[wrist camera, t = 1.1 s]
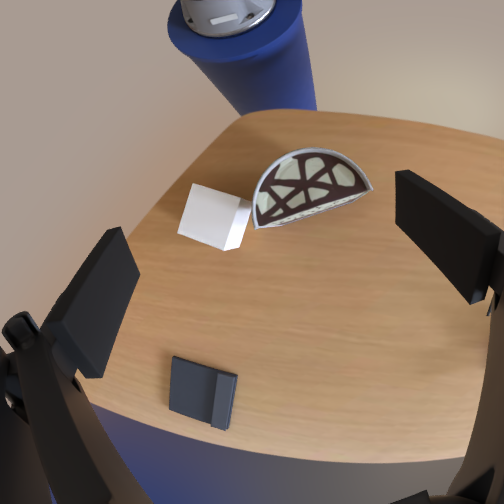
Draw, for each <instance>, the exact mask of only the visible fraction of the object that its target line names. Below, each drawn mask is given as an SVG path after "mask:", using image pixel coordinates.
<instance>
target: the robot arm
mask: <svg viewBox="0 0 504 504" xmlns="http://www.w3.org/2000/svg"><path fill="white" fill-rule="evenodd" d="M180 1H181V6H182V11H183V16H184V19H185V22H186V23H187V25H188V26H189V27H190V28H191V30H192V31H193V32H195V33H196V34H197V35H199V36H202V37H204V38H208V39H228V38H234V37H238V36H241V35H244V34H246V33H249V32H251V31H253V30H254V29H256V28H258V27H259V26H261V25H262V24H263V23H265V22H266V21H267V20H268V19H269V18H270V16H271V15H272V14H273V12H274V10H275V8H276V5H277V0H180ZM395 185H396V218H395V224H396V225H397V226H398V227H399V228H400V229H401V230H402V231H403V232H404V233H405V234H406V235H407V236H408V237H409V238H410V239H411V240H412V241H413V242H414V243H415V244H416V245H417V246H418V247H419V248H420V249H421V250H422V251H423V252H424V253H425V254H426V255H427V256H428V258H429V259H430V260H431V261H432V262H433V263H434V264H435V265H436V266H437V267H438V268H439V270H440V271H441V272H442V273H443V274H444V275H445V276H446V277H447V278H448V280H449V281H450V282H451V283H452V284H453V285H454V287H455V288H456V289H457V290H458V291H459V292H460V294H461V295H462V296H463V297H464V298H465V300H466V301H467V302H468V303H469V304H470V305H471V304H474V303H476V302H479V301H482V300H484V299H485V296H486V293H487V290H488V286H490V287H491V288H492V289H493V290H494V294H493V297H492V301H491V304H490V307H489V309H488V312H487V315H486V316H489V315H490V312H491V323H490V336H489V346H488V354H487V362H486V369H485V375H484V381H483V387H482V392H481V397H480V402H479V407H478V411H477V416H476V420H475V424H474V428H473V431H472V435H471V439H470V442H469V446H468V449H467V452H466V455H465V459H464V461H463V464H462V466H461V468H460V470H459V472H458V473H457V475H456V476H455V478H454V480H453V482H452V483H451V485H450V487H449V490H448V492H447V494H446V495H435V496H429V495H428V492H427V490H424V491H422V492H419V493H417V494H415V495H412V496H410V497H407V498H404V499H401V500H399V501H396V502H393V503H390V504H504V231H503V230H501V229H500V228H499V227H497V226H496V225H495V224H493V223H492V222H491V223H490V221H489V220H488V219H487V218H484V216H483V215H481V214H480V213H478V212H477V211H475V210H473V209H470V208H468V207H467V206H465V205H464V204H462V203H461V202H459V201H458V200H456V199H455V198H453V197H452V196H450V195H449V194H447V193H446V192H444V191H443V190H441V189H440V188H438V187H436V186H435V185H433V184H432V183H430V182H428V181H427V180H425V179H424V178H422V177H420V176H419V175H417V174H415V173H413V172H412V171H410V170H402V171H395ZM139 277H140V272H139V270H138V268H137V265H136V263H135V261H134V258H133V256H132V254H131V251H130V249H129V246H128V244H127V241H126V239H125V236H124V234H123V232H122V229H121V227H116V228H112V229H109V230H107V231H106V232H105V233H104V235H103V236H102V237H101V239H100V240H99V242H98V243H97V244H96V246H95V247H94V248H93V250H92V251H91V253H90V254H89V255H88V257H87V258H86V260H85V261H84V263H83V264H82V266H81V267H80V268H79V270H78V271H77V273H76V274H75V276H74V278H73V279H72V280H71V282H70V284H69V285H68V287H67V288H66V290H65V291H64V292H63V293H62V294H61V295H60V296H59V298H58V299H57V301H56V303H55V305H54V306H53V307H52V309H51V311H50V312H49V314H48V316H47V317H46V319H45V320H44V322H43V324H42V326H41V328H40V329H39V328H38V326H37V325H36V323H35V322H34V320H33V319H32V317H31V316H30V314H29V313H28V312H26V311H23V312H20V313H18V314H16V315H14V316H13V317H12V318H10V319H9V320H8V321H7V323H6V324H5V325H4V327H3V329H2V334H3V336H4V337H5V339H6V340H7V341H8V343H9V344H10V345H11V347H12V348H13V349H14V352H11V353H9V354H6V353H5V352H4V350H3V349H2V348H1V346H0V504H52V500H51V495H50V489H49V485H50V488H51V490H52V493H53V495H54V497H55V500H56V502H57V504H154V503H153V502H152V501H151V499H150V498H149V497H148V495H147V494H146V493H145V491H144V490H143V489H142V487H141V486H140V485H139V483H138V482H137V480H136V479H135V477H134V476H133V475H132V473H131V472H130V470H129V469H128V468H127V466H126V464H125V463H124V461H123V460H122V458H121V457H120V455H119V453H118V452H117V450H116V449H115V447H114V445H113V444H112V442H111V440H110V439H109V437H108V435H107V433H106V432H105V430H104V428H103V427H102V425H101V423H100V421H99V420H98V417H97V416H96V414H95V412H94V410H93V408H92V406H91V404H90V402H89V400H88V398H87V396H86V394H85V392H84V390H83V388H82V386H81V384H80V382H79V381H78V380H77V378H76V377H75V373H76V370H77V368H78V369H79V370H80V372H81V373H82V374H83V375H84V377H85V378H103V374H104V371H105V368H106V365H107V362H108V359H109V356H110V353H111V350H112V348H113V345H114V342H115V339H116V336H117V333H118V331H119V328H120V325H121V323H122V320H123V317H124V314H125V312H126V309H127V307H128V304H129V301H130V299H131V296H132V294H133V291H134V289H135V286H136V284H137V281H138V279H139ZM5 397H6V398H7V399H8V400H9V401H10V402H11V403H12V406H11V408H10V407H9V405H8V404H7V401H6V399H5Z"/></svg>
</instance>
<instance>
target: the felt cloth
mask: <svg viewBox="0 0 504 504" xmlns="http://www.w3.org/2000/svg"><path fill="white" fill-rule="evenodd" d="M237 376H238V375H236V374H232V373H228V372H225V371H221V370H218V369H214V368H211V367H207V366H204V365H201V364H197V363H194V362H191V361H188V360H185V359H182V358H179V357H176V356H173V357H172V366H171V382H170V400H169V410H172V411H174V412H177V413H180V414H182V415H185V416H188V417H191V418H194V419H197V420H199V421H202V422H206V423H209V424H211V427H215V428H218V429H221V430H224V431H226V429H228V428H229V423H230V418H231V412H232V406H233V400H234V394H235V388H236V382H237Z"/></svg>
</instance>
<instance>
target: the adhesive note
mask: <svg viewBox="0 0 504 504" xmlns="http://www.w3.org/2000/svg"><path fill="white" fill-rule="evenodd" d="M251 209H252V202H251V201H248V200H245V199H242V198H239V197H236V196H233V195H230V194H227V193H223V192H220V191H217V190H214V189H211V188H207V187H204V186H201V185H198V184H194V183H193V184H192V187H191V190H190V193H189V197H188V200H187V203H186V206H185V209H184V213H183V216H182V219H181V223H180V226H179V229H178V233H179V234H181V235H184V236H187V237H189V238H192V239H195V240H197V241H200V242H202V243H205V244H208V245H210V246H213V247H216V248H218V249H221V250H229V249H234V248H239V246H240V243H241V240H242V237H243V234H244V231H245V228H246V225H247V222H248V219H249V216H250V213H251Z"/></svg>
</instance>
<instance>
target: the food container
mask: <svg viewBox="0 0 504 504" xmlns="http://www.w3.org/2000/svg"><path fill="white" fill-rule="evenodd" d="M370 190H372V191H373V188H372V185H371V183H370V181H369V180H368V178H367V176H366V175H365V173H364V172H363V171H362V170H361V169H360V168H359V166H358V165H357V164H355V163H354V162H353V161H352V160H351V159H349V158H348V157H346V156H344V155H342V154H341V153H338V152H336V151H333V150H330V149H325V148H316V147H310V148H301V149H298V150H294V151H291V152H289V153H287V154H284V155H283V156H281V157H280V158H278V159H277V160H275V161H274V162H273V163H272V164H271V165H270V166H269V167H268V168H267V169H266V170H265V171H264V173H263V174H262V176H261V177H260V179H259V181H258V183H257V185H256V188H255V190H254V194H253V199H252V209H251V212H252V221H253V225H254V229H255V230H257V228H266V227H277V226H283V225H286V224H289V223H292V222H295V221H298V220H301V219H304V218H307V217H310V216H313V215H316V214H319V213H322V212H325V211H328V210H331V209H334V208H337V207H340V206H343V205H346V204H349V203H352V202H354V201H356V200H357V199H358V198H360V197H361V196H363V195H364V194H366V193H367V192H369V191H370Z"/></svg>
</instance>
